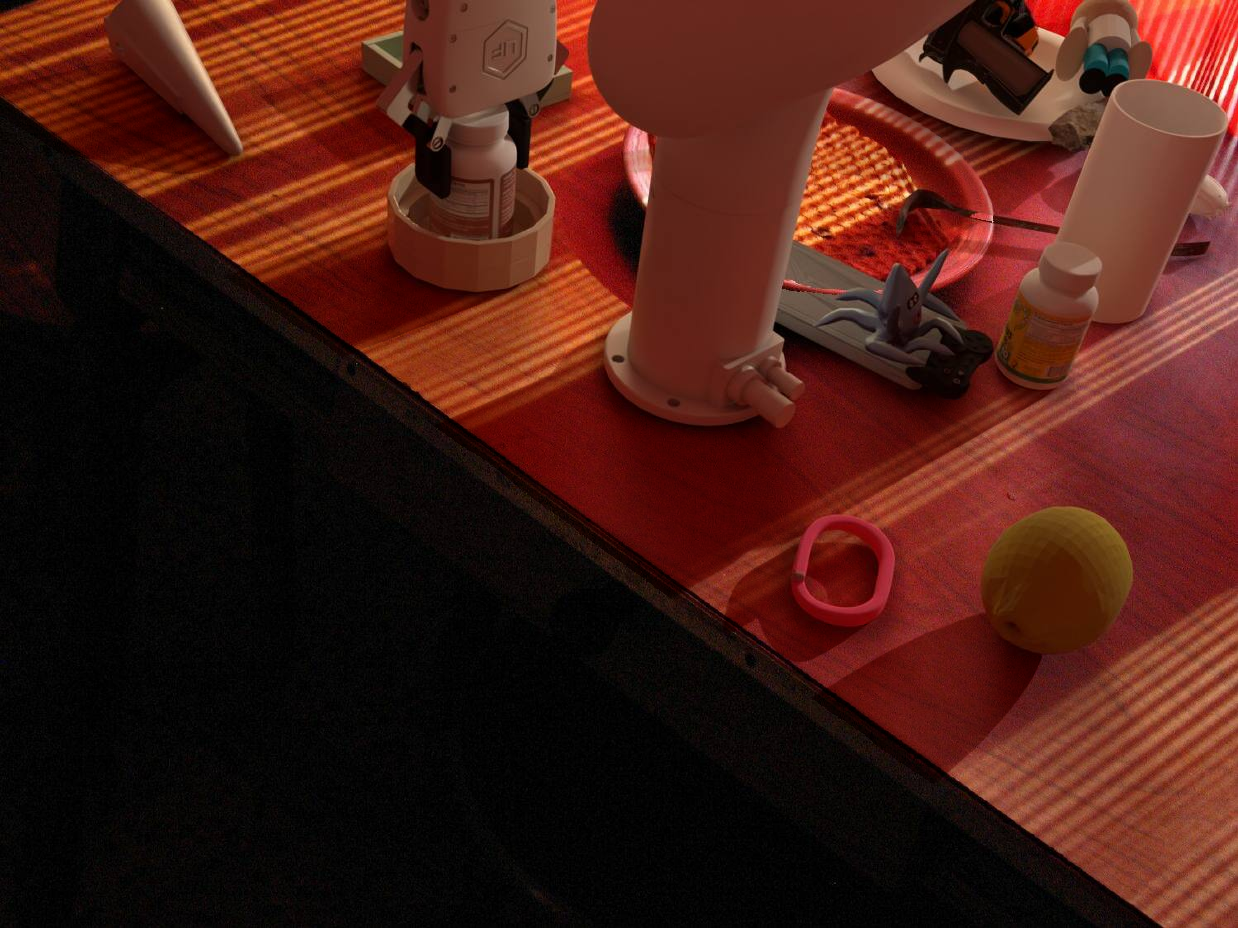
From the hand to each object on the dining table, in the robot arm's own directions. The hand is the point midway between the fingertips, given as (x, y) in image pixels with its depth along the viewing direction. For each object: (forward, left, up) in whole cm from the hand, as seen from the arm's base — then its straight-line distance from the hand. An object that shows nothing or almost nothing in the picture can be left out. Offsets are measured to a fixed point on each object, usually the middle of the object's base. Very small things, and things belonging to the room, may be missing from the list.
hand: (473, 173), depth 99 cm
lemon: (-49, -4, -7) cm, 49 cm away
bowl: (0, 0, -6) cm, 6 cm away
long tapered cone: (+29, +6, -7) cm, 30 cm away
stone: (-20, -55, -5) cm, 59 cm away
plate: (-6, -58, -7) cm, 58 cm away
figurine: (-28, -15, -6) cm, 33 cm away
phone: (-23, -17, -5) cm, 29 cm away
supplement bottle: (-34, -24, -7) cm, 43 cm away
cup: (-32, -37, -7) cm, 49 cm away
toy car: (-26, -55, -7) cm, 61 cm away
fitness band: (-39, +2, -7) cm, 40 cm away
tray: (+20, -15, -6) cm, 26 cm away
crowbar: (-28, -38, -6) cm, 47 cm away
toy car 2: (-2, -58, -1) cm, 58 cm away
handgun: (-12, -60, 0) cm, 61 cm away
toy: (-16, -59, -2) cm, 61 cm away
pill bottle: (0, 0, -6) cm, 6 cm away
